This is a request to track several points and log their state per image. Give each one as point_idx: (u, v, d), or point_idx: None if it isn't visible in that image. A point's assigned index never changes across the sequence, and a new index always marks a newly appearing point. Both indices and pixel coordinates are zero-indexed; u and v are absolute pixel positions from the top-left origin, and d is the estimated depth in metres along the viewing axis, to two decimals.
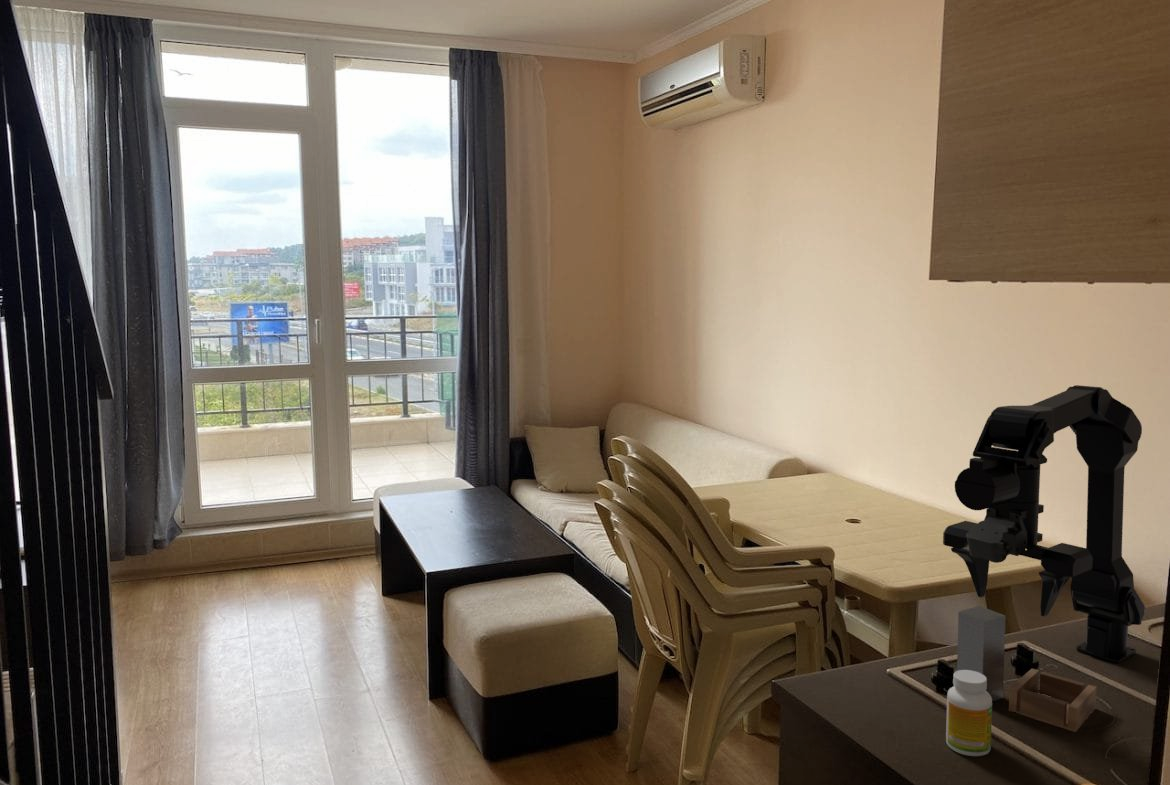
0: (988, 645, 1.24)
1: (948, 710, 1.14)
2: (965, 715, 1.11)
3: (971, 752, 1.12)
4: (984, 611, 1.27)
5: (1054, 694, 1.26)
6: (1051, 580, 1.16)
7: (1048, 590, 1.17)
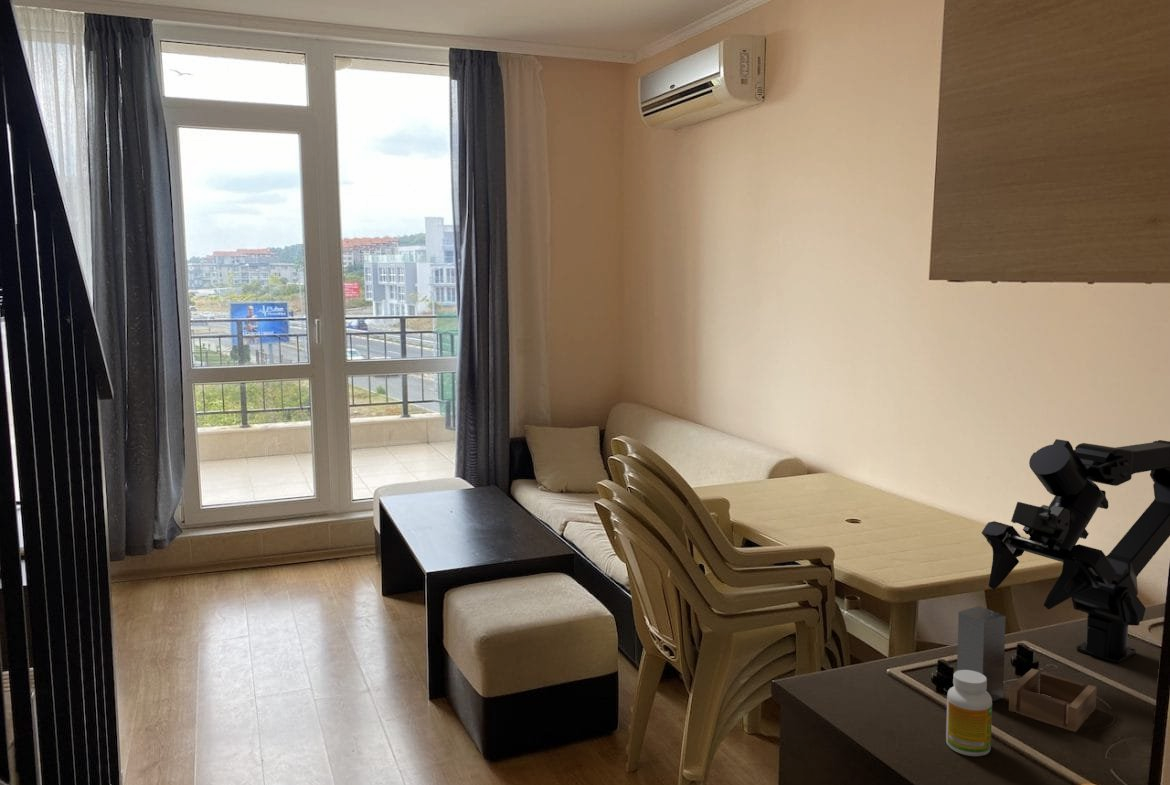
0: (988, 645, 1.24)
1: (948, 710, 1.14)
2: (965, 715, 1.11)
3: (971, 752, 1.12)
4: (984, 611, 1.27)
5: (1054, 694, 1.26)
6: (1072, 568, 1.24)
7: (1063, 581, 1.25)
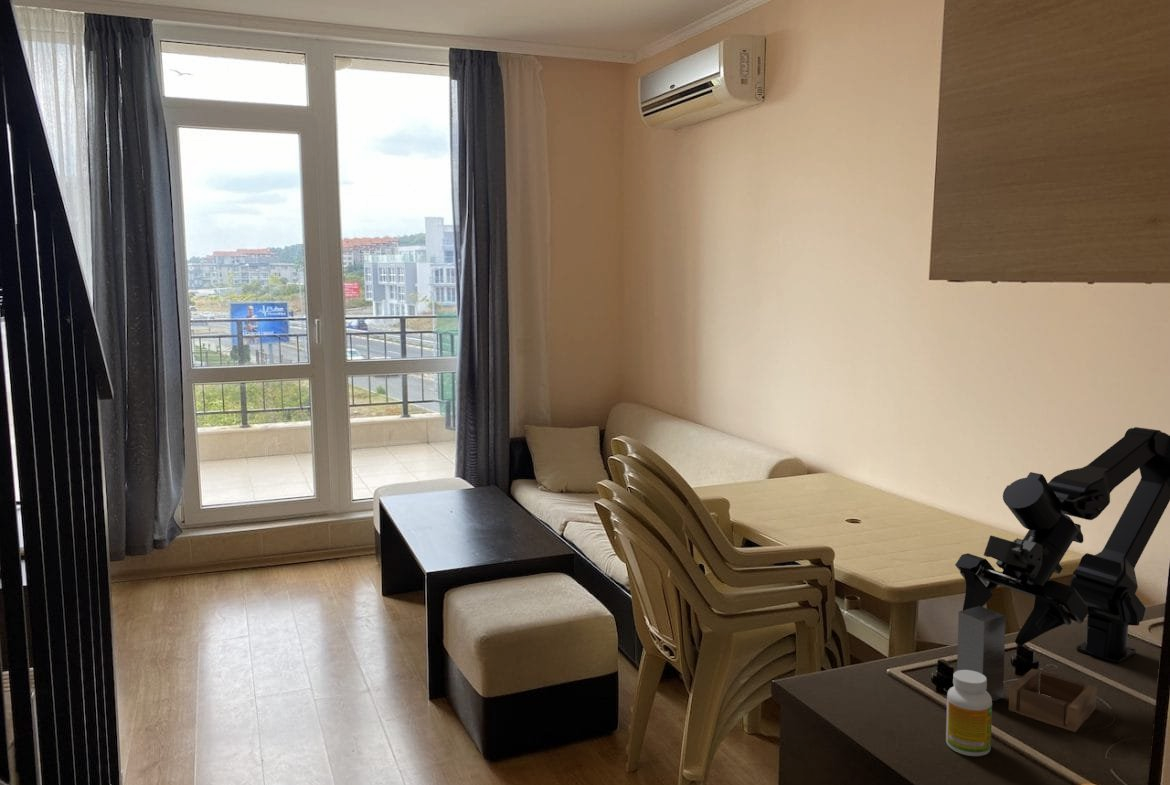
0: (988, 645, 1.24)
1: (948, 710, 1.14)
2: (965, 715, 1.11)
3: (971, 752, 1.12)
4: (984, 611, 1.27)
5: (1054, 694, 1.26)
6: (1043, 604, 1.22)
7: (1035, 617, 1.23)
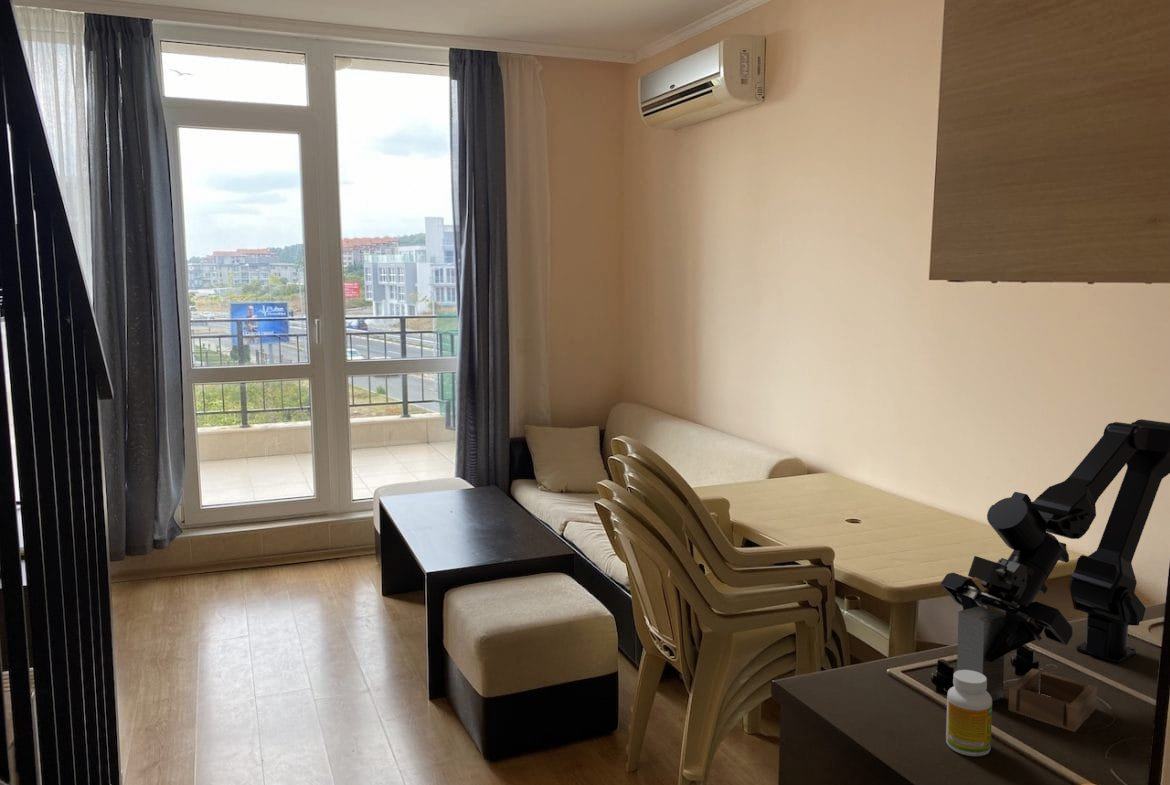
0: (988, 645, 1.24)
1: (948, 710, 1.14)
2: (965, 715, 1.11)
3: (971, 752, 1.12)
4: (984, 611, 1.27)
5: (1054, 694, 1.26)
6: (1014, 621, 1.23)
7: (1005, 634, 1.24)
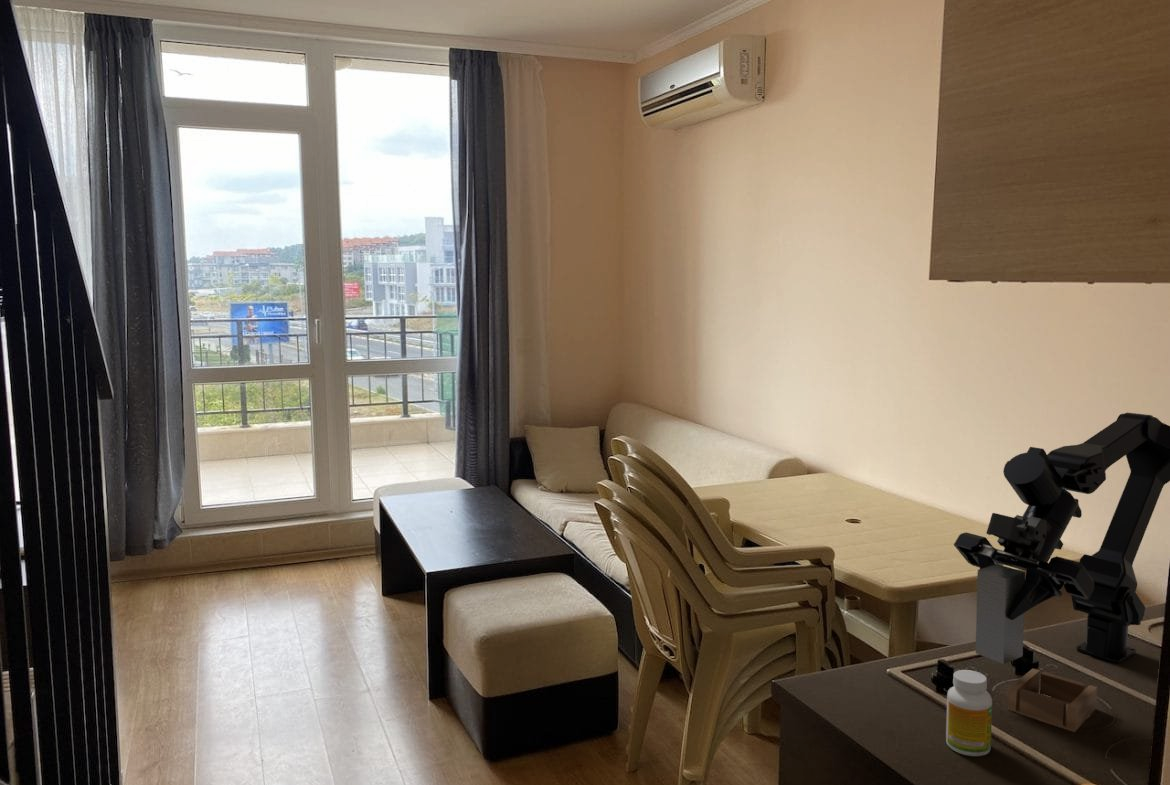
0: (1009, 602, 1.22)
1: (948, 710, 1.14)
2: (965, 715, 1.11)
3: (971, 752, 1.12)
4: (1003, 569, 1.25)
5: (1055, 694, 1.26)
6: (1035, 577, 1.21)
7: (1026, 590, 1.21)
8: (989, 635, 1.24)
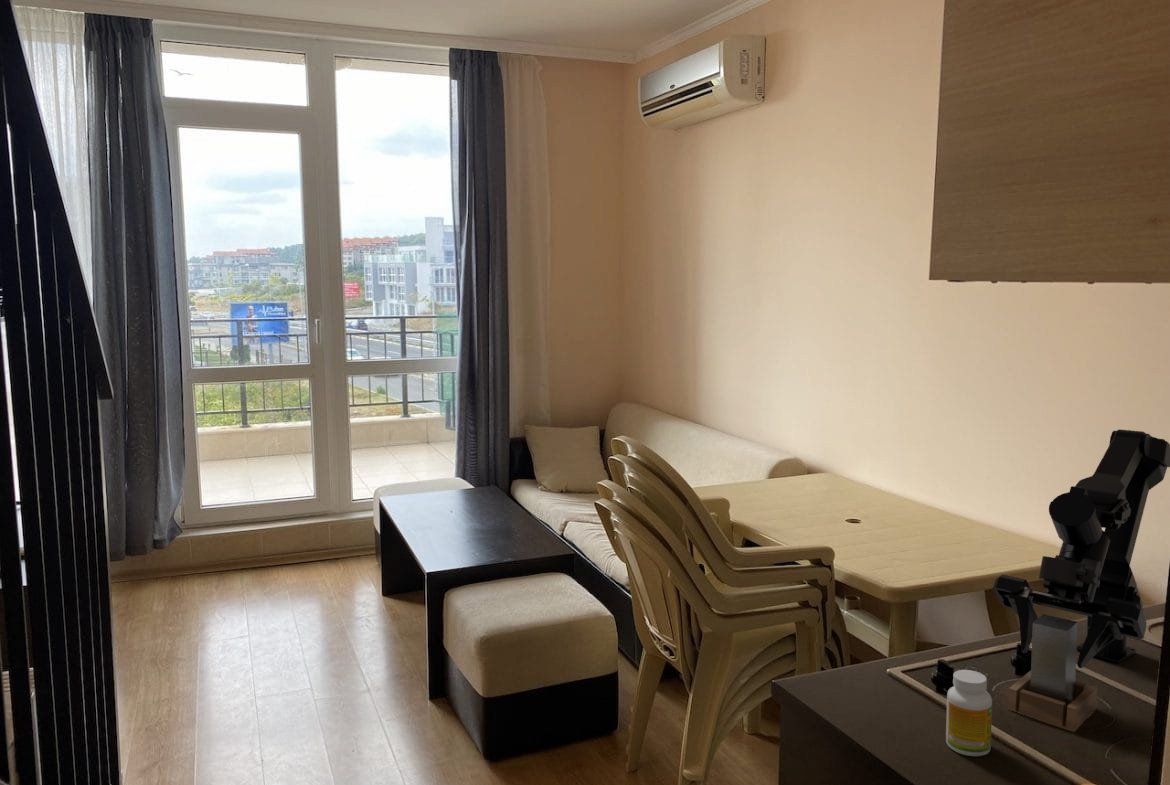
0: (1068, 654, 1.20)
1: (948, 710, 1.14)
2: (965, 715, 1.11)
3: (971, 752, 1.12)
4: (1054, 619, 1.22)
5: None
6: (1103, 622, 1.18)
7: (1094, 636, 1.19)
8: (1047, 690, 1.21)
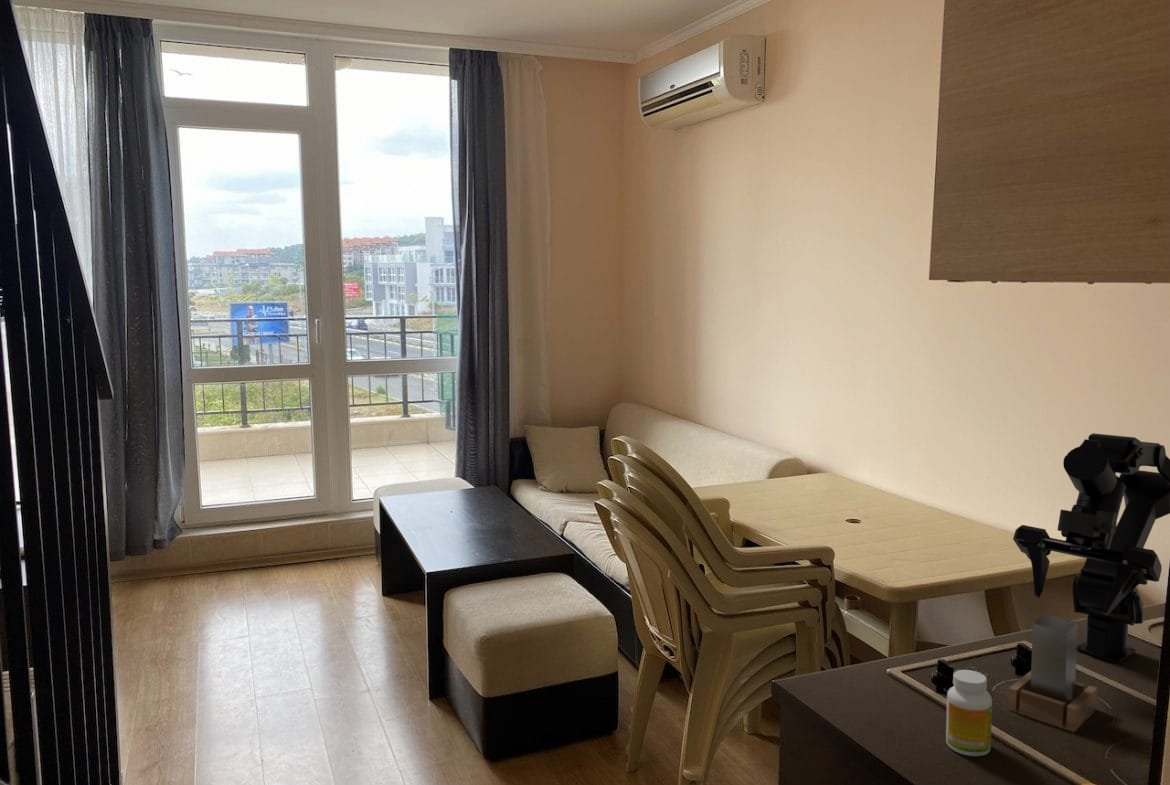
0: (1068, 655, 1.20)
1: (948, 710, 1.14)
2: (965, 715, 1.11)
3: (971, 752, 1.12)
4: (1054, 620, 1.22)
5: None
6: (1128, 571, 1.23)
7: (1119, 585, 1.24)
8: (1047, 690, 1.21)
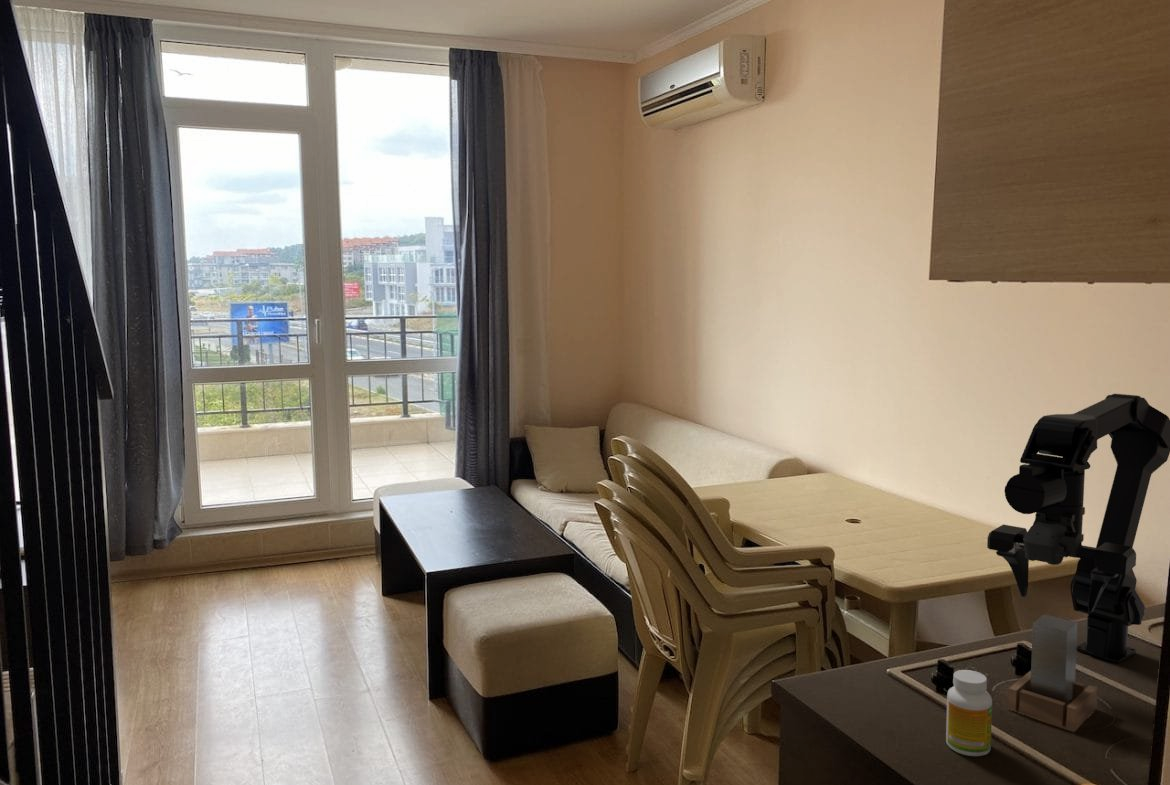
0: (1068, 655, 1.20)
1: (948, 710, 1.14)
2: (965, 715, 1.11)
3: (971, 752, 1.12)
4: (1054, 620, 1.22)
5: None
6: (1102, 578, 1.23)
7: (1097, 587, 1.25)
8: (1047, 690, 1.21)
